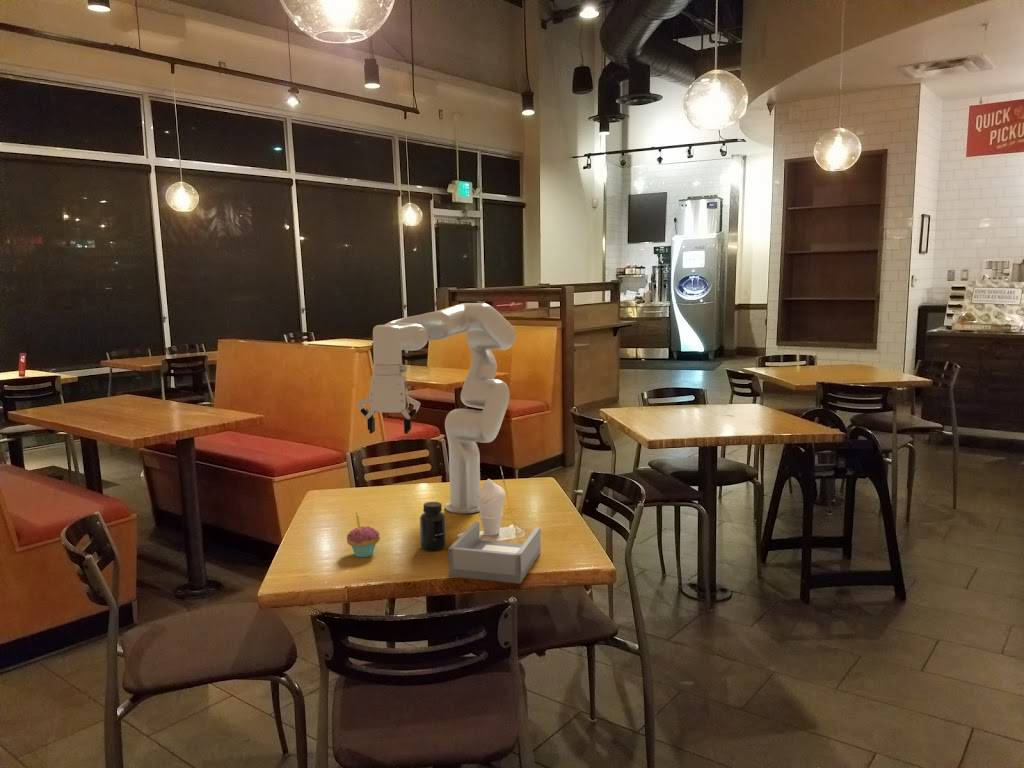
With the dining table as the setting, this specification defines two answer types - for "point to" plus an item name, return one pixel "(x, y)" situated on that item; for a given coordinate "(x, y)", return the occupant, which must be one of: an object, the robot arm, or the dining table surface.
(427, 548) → the supplement bottle
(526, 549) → the dock
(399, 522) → the dining table surface
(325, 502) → the dining table surface
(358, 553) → the cupcake
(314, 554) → the dining table surface
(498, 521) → the soft serve ice cream cone
